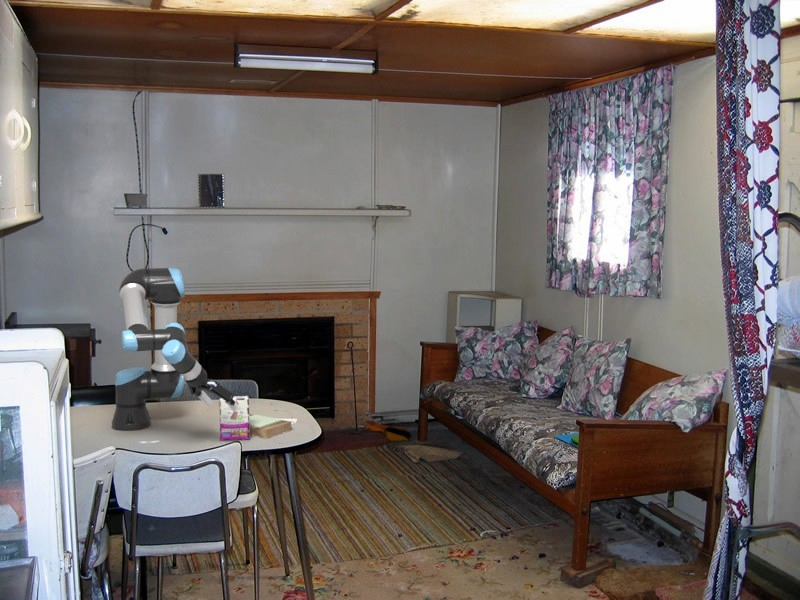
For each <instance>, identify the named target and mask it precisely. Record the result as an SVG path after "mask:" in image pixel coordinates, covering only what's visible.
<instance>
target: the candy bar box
mask: <svg viewBox="0 0 800 600" xmlns="http://www.w3.org/2000/svg"><path fill="white" fill-rule="evenodd" d="M233 400H234V401H235V402H236V403H237V404H238V408H237V410H236V411H235V412H234V411H233V410H232V409H231V408H230V407H229V406H228V405H227V403H226V402H225V400H224V399H222V398H220V397H219V433H220V434H219V441H221V442H222V441H223V442H224V441H243V440H242V439H249V440H250V437H251V435H250V428H249V414H250V397H249V395H238V396H237V395H236V396H235V395H234V397H233Z"/></svg>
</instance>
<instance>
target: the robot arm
mask: <svg viewBox="0 0 800 600" xmlns="http://www.w3.org/2000/svg"><path fill="white" fill-rule="evenodd" d="M184 283H185V282H184V278H183V274H182V272H181V270H180V269H179V268H174V267H173V268H172V267H159V268H158V267H157V268H156V267H155V268H143V267H142V268H137V269H135V270H132V271H131V272H130V273H128V274H127V275H126V276H125V277H124V278H123V279H122V281H121V282H120V285H119V291H118V292H119V298H120V299H121V301H122V302H123V311H124V322H125V329H126V330H123V331H122V332H121V348H122V350H123V351H124V352H136V353H137V352H145V351H154V363H153V364H151V366H150V370H147V368H145V367H144V366H140V367H139V366H135V367H129V368H124V369H121V370H120V371H118V372H117V373H116V374H115V381H114V382H115V383H114V386H115V409H114V410H115V411H114V414H113V418H112V420H111V428H112V429H114V430H117V431H118V430H119V431H135V430H143V429H146V428H149V427H150V426H152V425H151V424H152V422H151V421H152V420H151V417H150V414H149V410H148V408H147V401H148V400H157V399H159V400H161V399H163V400H164V399H172V398H174V399H175V398H179V397H181V396H182V394H183V391H184V387H185V383H186V385H187V386H188V389H189V392H190V394H191V395H195V396H196V397H198V398H199V399H200V400H201V401H202V402H203V403H204V405H205V406H206V407H209V408H210V405H211V404H212V402H213V400H212V398H211V397H210V396H208V394H207V393H206V392H208V393H210V394H214V395H215V396H217V397H219V399H220V398H222V399H224V400H225V402H226V403H227V405H228V406H229V407H230V408H231V409H232V410H233V411H234V412H235V411H236V410H237V408H238V404H237V403H236V402H235V401H234V400H233V397H234V396H235V394H233V393H232V392H231V391H230V390H228V389H227V388H226V387H224V386H222V385H221V384H220V383H218V381H216V380H215V379H214V380H212V381H211V380H210V379H209V378H208V372H207V371H206V369H204V368H203V366H202V365H201V364H200V362H198V360H197V359H196V358H195V357H194V356H193V355H192V354H191V353H190V351H189V347H188V342H187V335H186V330H185V328H184V327H183V326H182V324H180V323H178V317H177V316H178V308H177V307H178V305H179V304H181V301H182V300H181V299H182V298H185V296H186V294H185V293H186V291H185V290H186V289H185V284H184ZM145 299H150V303H151V304H152V305H153V306H154V328H153V329H152V328H151V329H149V326H148V319H147V312H146V306H145ZM205 391H206V392H205Z"/></svg>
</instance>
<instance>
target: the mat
mask: <svg viewBox="0 0 800 600" xmlns="http://www.w3.org/2000/svg"><path fill="white" fill-rule="evenodd" d="M282 420H283V419H280V418H276V417H271V416H270V417H269V416H265V415H259V414H253V416H250V417H249V426H254V427H259V428H261V427H264V426H268V425H271V424H274V423H277V422H280V421H282Z"/></svg>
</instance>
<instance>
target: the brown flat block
mask: <svg viewBox="0 0 800 600" xmlns="http://www.w3.org/2000/svg"><path fill="white" fill-rule="evenodd" d="M253 415H254V414H252V413H249V417H250V416H253ZM281 420H282V421H280V422H277V423H274V424H271V425H268V426H264V427H261V428H259V427H254V426H249V428H250V436H251V435H254V436H253V437H256V436H259V437H258V438H261V437H263V438H262V439H266V438H267V439H270V438H273V437H275V435H276V436H278V434H279V435H281V433H282V434H284V433H283V432H285V433H287V432H286V431H288V432H290V431H289V430H291V431H292V421H289V420H283V419H281ZM272 436H273V437H272ZM269 437H270V438H269Z"/></svg>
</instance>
